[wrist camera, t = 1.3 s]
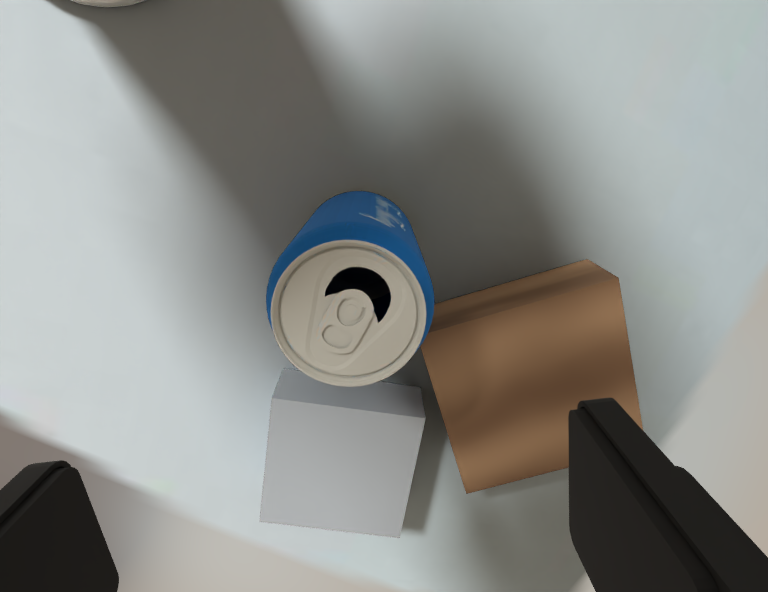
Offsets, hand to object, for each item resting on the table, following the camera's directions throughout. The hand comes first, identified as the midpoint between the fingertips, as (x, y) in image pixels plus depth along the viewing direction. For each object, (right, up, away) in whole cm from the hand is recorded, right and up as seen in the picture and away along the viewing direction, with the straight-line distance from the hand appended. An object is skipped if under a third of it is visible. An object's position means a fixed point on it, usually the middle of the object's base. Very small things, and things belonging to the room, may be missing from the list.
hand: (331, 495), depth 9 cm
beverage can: (0, +7, +20) cm, 21 cm away
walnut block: (+10, -1, +22) cm, 24 cm away
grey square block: (-2, -6, +24) cm, 25 cm away
